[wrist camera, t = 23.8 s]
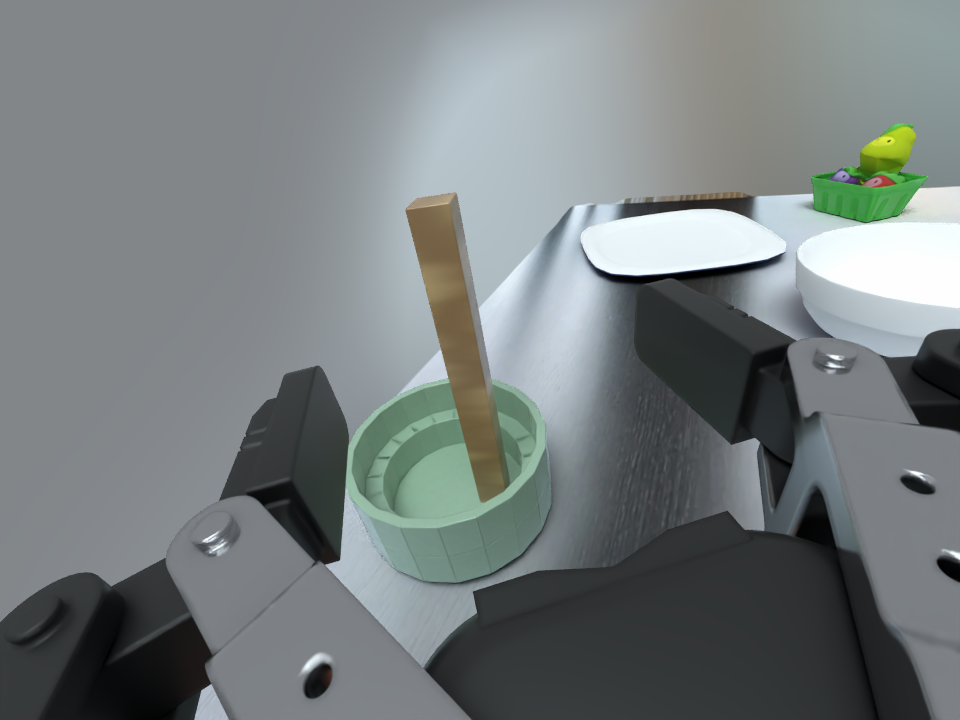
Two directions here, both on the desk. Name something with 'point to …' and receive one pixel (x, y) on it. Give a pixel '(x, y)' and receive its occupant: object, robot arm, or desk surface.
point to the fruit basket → (871, 180)
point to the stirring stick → (460, 335)
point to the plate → (679, 243)
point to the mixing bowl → (447, 484)
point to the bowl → (883, 283)
